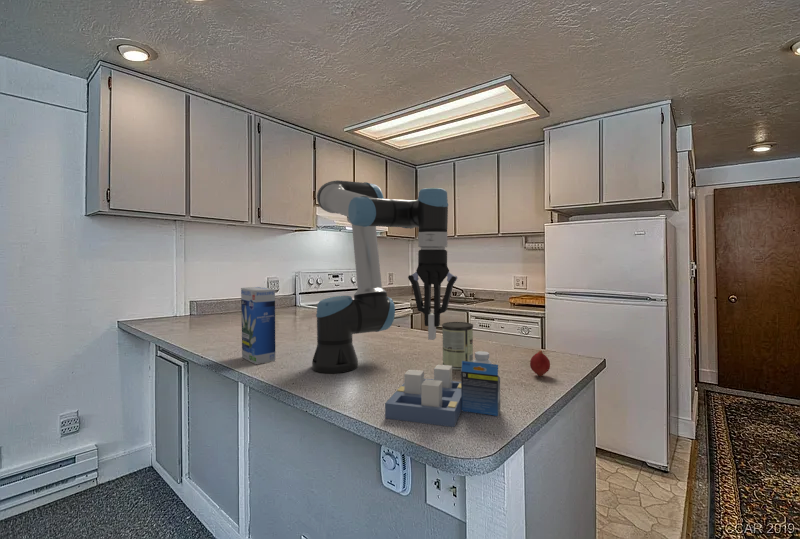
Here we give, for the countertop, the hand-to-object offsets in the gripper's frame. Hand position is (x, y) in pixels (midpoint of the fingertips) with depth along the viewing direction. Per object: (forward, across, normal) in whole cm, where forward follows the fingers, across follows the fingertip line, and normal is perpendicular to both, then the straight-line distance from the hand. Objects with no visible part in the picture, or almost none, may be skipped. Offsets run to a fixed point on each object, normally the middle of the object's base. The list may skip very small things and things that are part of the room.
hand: (432, 338), depth 103 cm
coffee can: (+16, +2, +30) cm, 34 cm away
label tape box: (+15, +14, -6) cm, 21 cm away
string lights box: (+17, -68, +18) cm, 72 cm away
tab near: (+13, +3, -13) cm, 19 cm away
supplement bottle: (+16, +12, +11) cm, 23 cm away
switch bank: (+15, +1, -7) cm, 17 cm away
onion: (+16, +28, +26) cm, 41 cm away
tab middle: (+13, -3, -7) cm, 15 cm away
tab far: (+13, +3, 0) cm, 14 cm away
